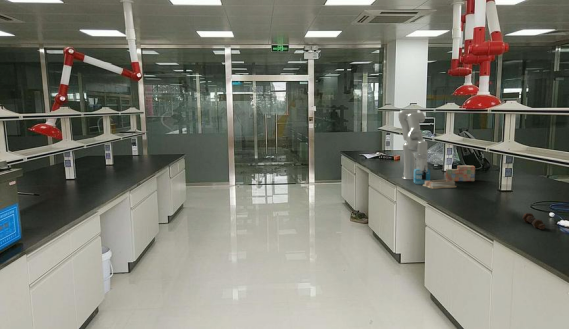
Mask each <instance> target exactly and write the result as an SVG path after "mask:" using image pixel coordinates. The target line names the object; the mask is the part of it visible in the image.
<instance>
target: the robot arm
mask: <svg viewBox="0 0 570 329" xmlns="http://www.w3.org/2000/svg"><path fill="white" fill-rule="evenodd" d="M425 120H426V115H425V114H424V112H423V111H421V110H420V109H418V108H417V109H410V108H409V109H402V110H400V111H399V112H398V122H399V123H400V125H401V130H402V137H403V140H404V141H405V142H404V144H403V145H402V150H403V176H401V178H402V179H403V180H414V169H420V171H422V180H426V173H427V172H428V171H427V169H428V141H426V140H424V137H423V132H422V131H421V125H420V124H421V123H424V122H425ZM414 154H416V156H417V157H416V156H415V155H414ZM416 158H417V159H416ZM424 170H425V171H424Z"/></svg>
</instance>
